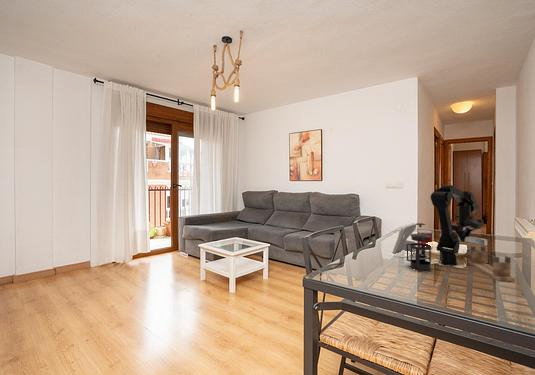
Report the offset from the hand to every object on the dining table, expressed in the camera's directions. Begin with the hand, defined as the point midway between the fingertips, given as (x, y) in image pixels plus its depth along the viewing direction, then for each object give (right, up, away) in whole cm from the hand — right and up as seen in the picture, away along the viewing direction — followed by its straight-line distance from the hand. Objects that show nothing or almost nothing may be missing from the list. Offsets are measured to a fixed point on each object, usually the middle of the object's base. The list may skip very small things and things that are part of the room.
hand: (464, 241), depth 156 cm
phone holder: (-29, -10, +11) cm, 33 cm away
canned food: (-11, -9, +21) cm, 25 cm away
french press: (-34, -11, -15) cm, 38 cm away
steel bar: (0, 0, 0) cm, 1 cm away
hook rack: (-5, -10, -23) cm, 26 cm away
